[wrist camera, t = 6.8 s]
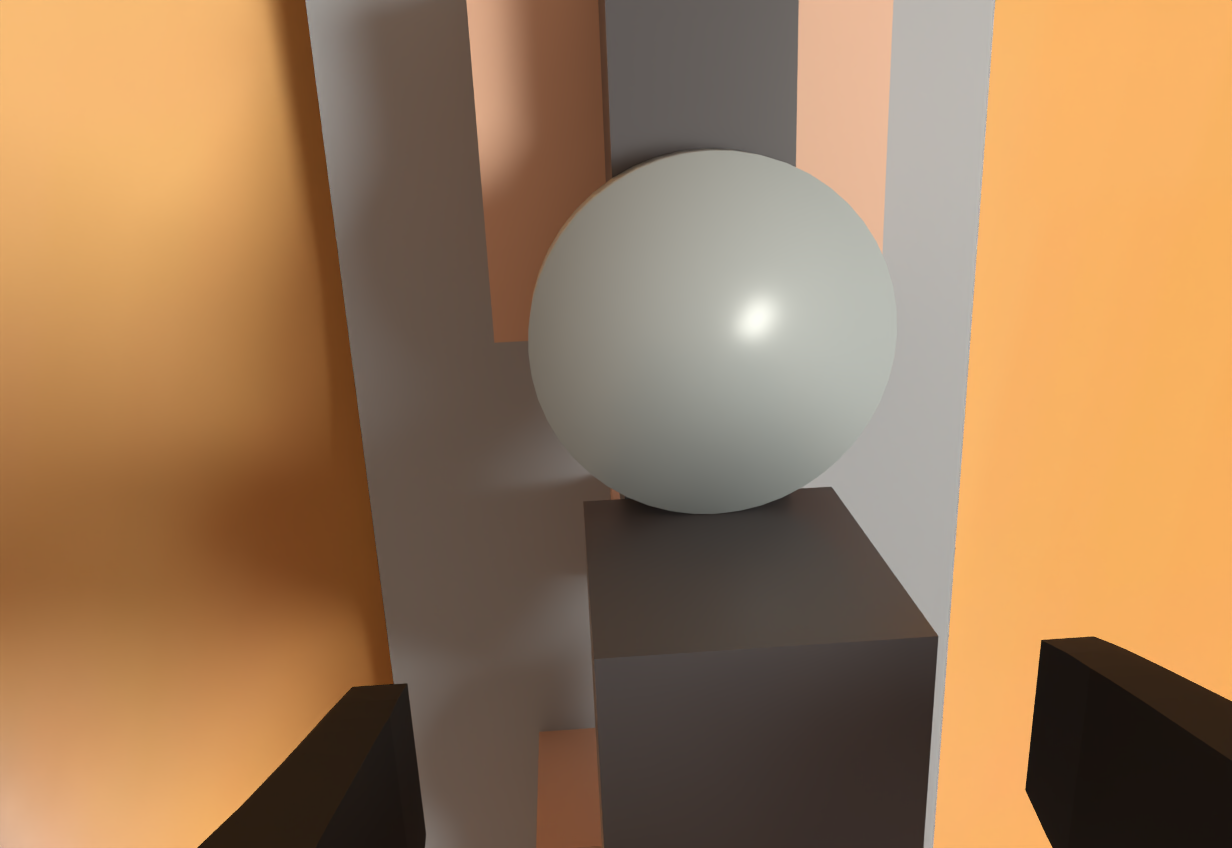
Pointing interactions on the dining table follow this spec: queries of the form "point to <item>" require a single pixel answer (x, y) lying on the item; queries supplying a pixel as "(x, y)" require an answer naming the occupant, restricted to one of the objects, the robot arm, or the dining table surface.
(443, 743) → the display stand
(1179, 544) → the dining table surface
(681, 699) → the stacked ball block column
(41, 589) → the dining table surface
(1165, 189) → the dining table surface
